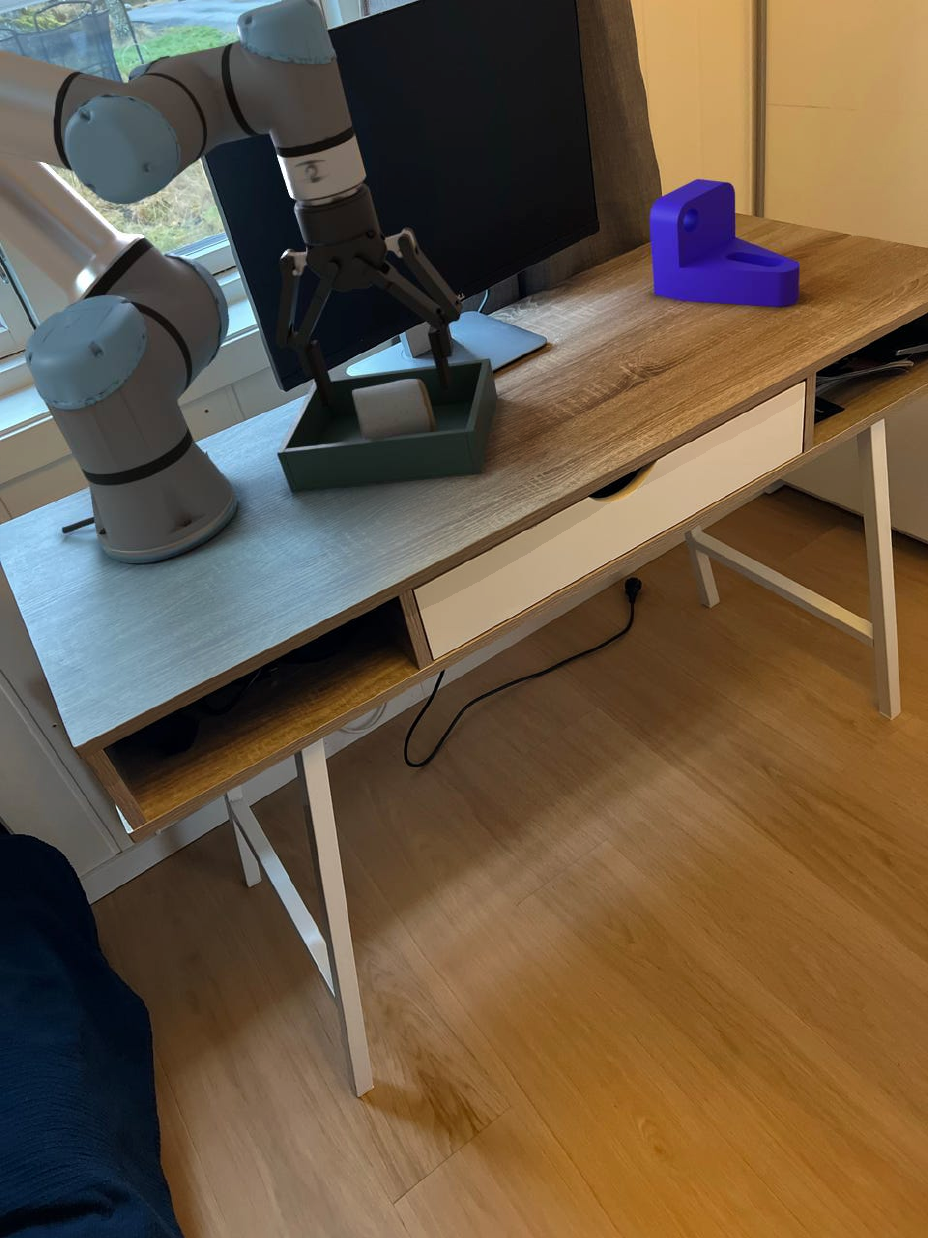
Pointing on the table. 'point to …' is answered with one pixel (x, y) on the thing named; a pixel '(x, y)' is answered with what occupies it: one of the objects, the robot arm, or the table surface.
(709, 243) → the bracket
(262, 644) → the table surface
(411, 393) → the ceramic mug
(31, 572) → the table surface
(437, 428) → the tote
